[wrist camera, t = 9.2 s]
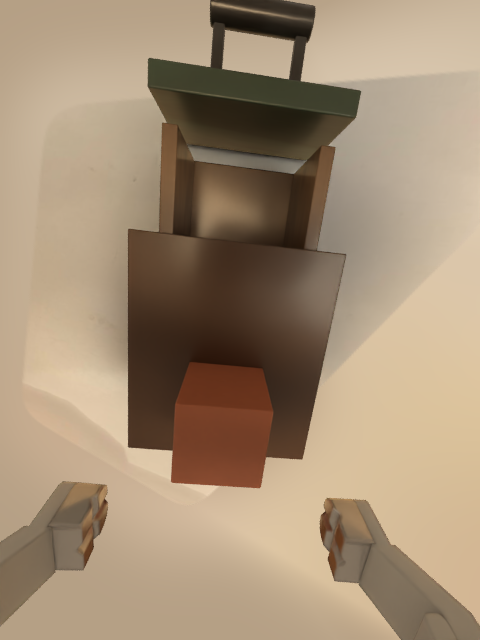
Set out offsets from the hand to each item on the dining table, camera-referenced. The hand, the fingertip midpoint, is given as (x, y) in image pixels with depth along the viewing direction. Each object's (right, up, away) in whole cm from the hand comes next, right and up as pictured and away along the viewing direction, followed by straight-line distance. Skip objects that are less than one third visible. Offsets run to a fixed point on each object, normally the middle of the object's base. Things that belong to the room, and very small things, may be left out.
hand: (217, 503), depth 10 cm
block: (0, +2, +7) cm, 7 cm away
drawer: (+1, +17, +11) cm, 21 cm away
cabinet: (0, +7, +15) cm, 17 cm away
